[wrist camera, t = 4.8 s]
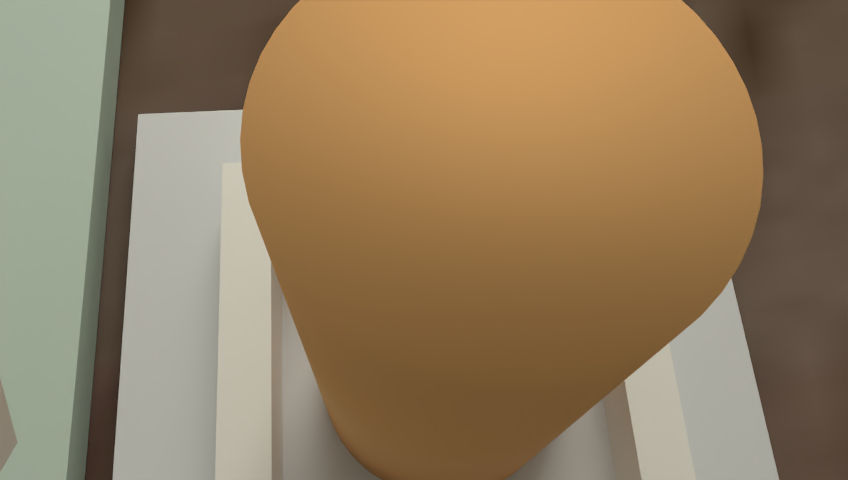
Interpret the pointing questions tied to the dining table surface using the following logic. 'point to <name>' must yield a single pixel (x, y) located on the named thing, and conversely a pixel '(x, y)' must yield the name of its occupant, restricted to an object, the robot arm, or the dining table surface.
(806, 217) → the dining table surface
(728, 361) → the base
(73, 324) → the sage board
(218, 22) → the dining table surface
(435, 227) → the orange plug
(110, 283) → the dining table surface
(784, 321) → the dining table surface
